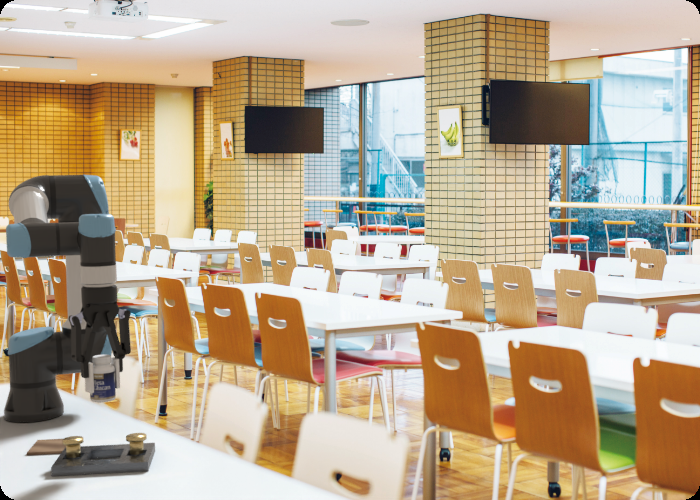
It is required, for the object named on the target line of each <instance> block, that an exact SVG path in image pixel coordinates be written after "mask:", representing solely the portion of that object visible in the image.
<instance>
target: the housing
mask: <svg viewBox="0 0 700 500" xmlns="http://www.w3.org/2000/svg"><path fill="white" fill-rule="evenodd" d="M143 444H144V452H143V453H142V454H137V455H132V454H130V444H129V443H125V444H124V443H122V444H121V443H120V444H108V445H106V444H105V445H104V444H103V445H82V446H81V445H80V449H81V456H79V457H76V458H67V457H66V447H65V448H64V450H63V451H62V453H61V454H59V456H58V457H57V459H56V460H55V461H54V463H53V464H52V466H51V467H50V468H51V472H50V473H51V477H65V476H66V477H67V476H69V477H70V476H87V475H101V474H102V475H103V474H119V473H122V474H123V473H135V472H136V473H137V472H138V473H139V472H140V473H141V472H148V471H149V469H150V467H151V464H152V462H153V459H154V456H155V453H156V443H155V442H143Z"/></svg>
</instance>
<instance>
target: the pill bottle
mask: <svg viewBox="0 0 700 500" xmlns="http://www.w3.org/2000/svg"><path fill="white" fill-rule="evenodd" d="M111 358H112V354H111V355H95V356H93V357H92V362H93V364H94V365H93V376H94V393H89V395H90V396H89V397H90V398H89V400H90V401H91V402H93V403H98V404H99V403H108V402H112V401H115V399H116V395H117V394H116V393H117V392H116V388H115V367H114V366H113V365H111Z"/></svg>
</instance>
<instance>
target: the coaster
mask: <svg viewBox="0 0 700 500" xmlns="http://www.w3.org/2000/svg"><path fill="white" fill-rule="evenodd" d="M63 439H64V438H51V439H50V438H49V439H37V440H36V441H35V442H34V443H33V444H32V446H31V447H30V448H29V449H28V451H27V452H26V456H38V455H40V456H41V455H42V456H43V455H54V454H55V455H60V454H61V453H62V451H63V450H64V448H65V447H66V445H63V444H62V440H63Z"/></svg>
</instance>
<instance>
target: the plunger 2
mask: <svg viewBox="0 0 700 500" xmlns="http://www.w3.org/2000/svg"><path fill="white" fill-rule="evenodd" d="M146 440H147V433H145V432H134V433H133V432H132V433H129V434H127V435H126V436H125V441H126V442H128V444H130V454H132V455H137V454H142V453H143V452H144V444H143V443H144V441H146Z"/></svg>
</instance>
